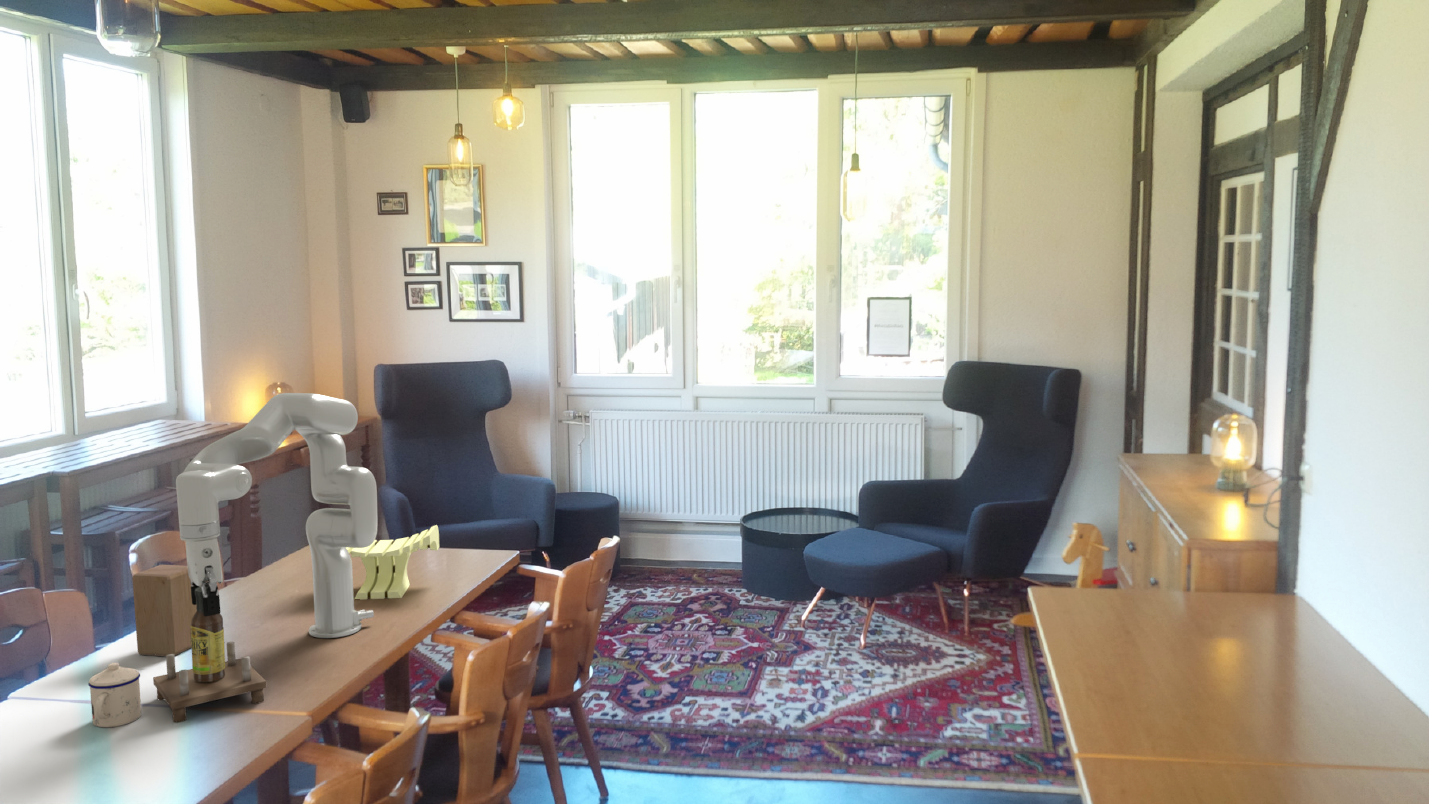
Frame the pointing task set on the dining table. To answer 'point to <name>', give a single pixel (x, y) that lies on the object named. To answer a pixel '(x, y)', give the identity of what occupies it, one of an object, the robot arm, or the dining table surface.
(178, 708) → the peg shelf
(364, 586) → the slatted curved stool
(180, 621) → the wooden block
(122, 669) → the teacup with lid
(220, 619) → the sauce bottle
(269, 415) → the robot arm
